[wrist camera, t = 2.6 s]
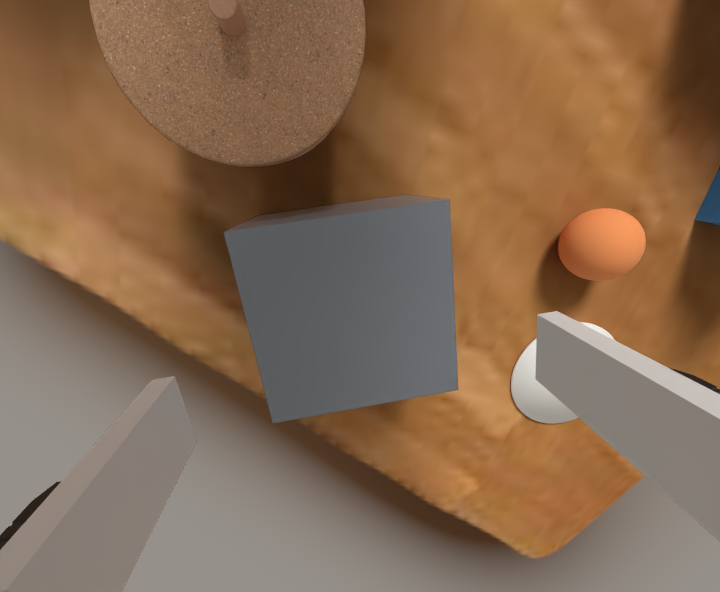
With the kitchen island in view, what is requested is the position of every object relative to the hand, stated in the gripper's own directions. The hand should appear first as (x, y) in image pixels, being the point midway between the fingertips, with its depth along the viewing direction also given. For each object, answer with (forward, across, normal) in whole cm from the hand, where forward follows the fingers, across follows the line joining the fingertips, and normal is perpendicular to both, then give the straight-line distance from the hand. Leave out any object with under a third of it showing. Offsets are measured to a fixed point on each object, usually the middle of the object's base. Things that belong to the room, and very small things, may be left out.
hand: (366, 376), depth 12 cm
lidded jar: (+14, -3, +14) cm, 19 cm away
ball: (+11, +18, 0) cm, 21 cm away
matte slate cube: (+14, 0, 0) cm, 14 cm away
